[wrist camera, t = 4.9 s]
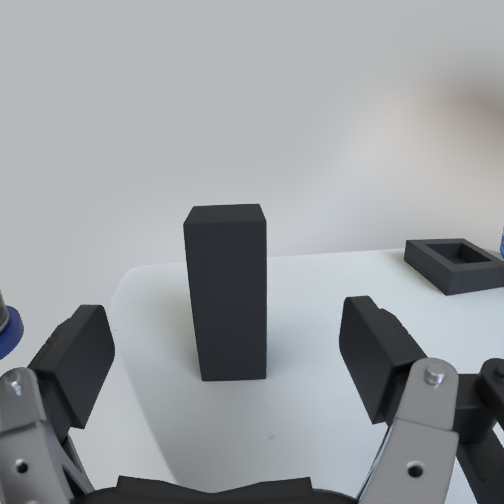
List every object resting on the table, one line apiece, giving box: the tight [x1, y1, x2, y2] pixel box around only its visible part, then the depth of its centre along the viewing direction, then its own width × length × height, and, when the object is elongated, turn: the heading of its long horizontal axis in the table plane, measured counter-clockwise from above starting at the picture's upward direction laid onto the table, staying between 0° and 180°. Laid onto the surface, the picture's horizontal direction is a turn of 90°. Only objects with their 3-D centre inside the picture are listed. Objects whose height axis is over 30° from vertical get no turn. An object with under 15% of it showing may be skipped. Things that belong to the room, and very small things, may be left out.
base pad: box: [404, 239, 504, 295], centre depth 31 cm, size 10×10×3 cm
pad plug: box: [183, 204, 267, 381], centre depth 19 cm, size 4×4×10 cm
